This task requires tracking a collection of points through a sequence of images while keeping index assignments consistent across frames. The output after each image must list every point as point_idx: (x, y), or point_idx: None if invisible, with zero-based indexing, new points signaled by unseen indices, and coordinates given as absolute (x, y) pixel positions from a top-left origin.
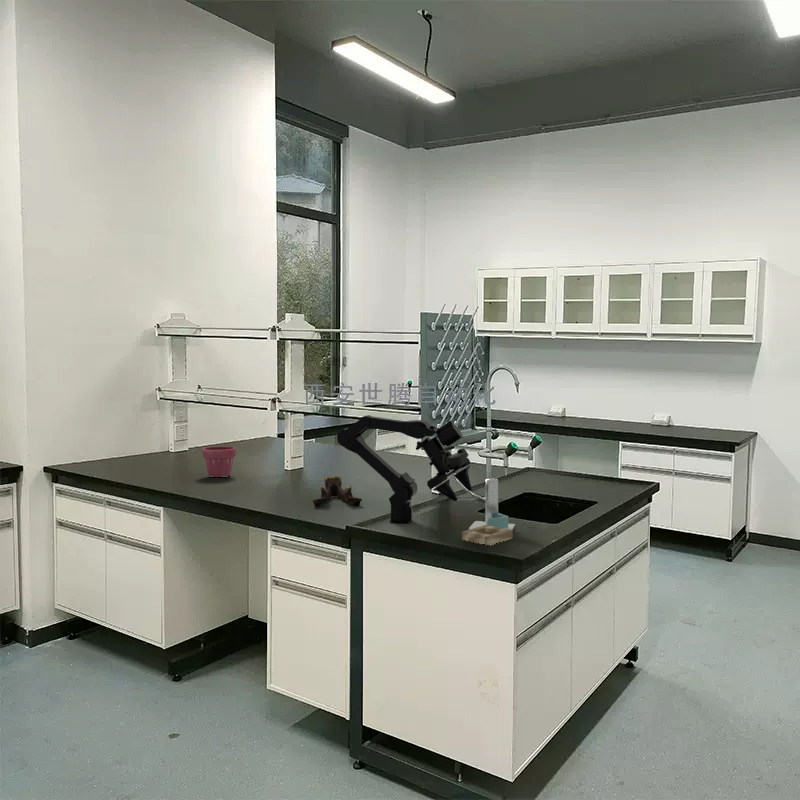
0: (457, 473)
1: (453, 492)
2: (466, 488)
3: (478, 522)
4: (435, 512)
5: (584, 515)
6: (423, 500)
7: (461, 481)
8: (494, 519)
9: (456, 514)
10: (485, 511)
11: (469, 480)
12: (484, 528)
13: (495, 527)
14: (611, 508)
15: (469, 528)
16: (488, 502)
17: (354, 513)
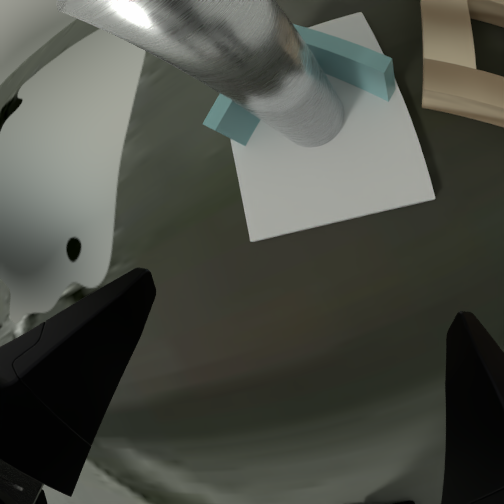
0: (40, 478)
1: (500, 381)
2: (143, 328)
3: (271, 211)
4: (181, 449)
5: (64, 44)
6: (98, 475)
7: (97, 405)
8: (359, 48)
9: (164, 372)
10: (303, 114)
11: (60, 313)
12: (479, 72)
13: (434, 28)
14: (26, 60)
15: (428, 195)
16: (299, 48)
17: None
